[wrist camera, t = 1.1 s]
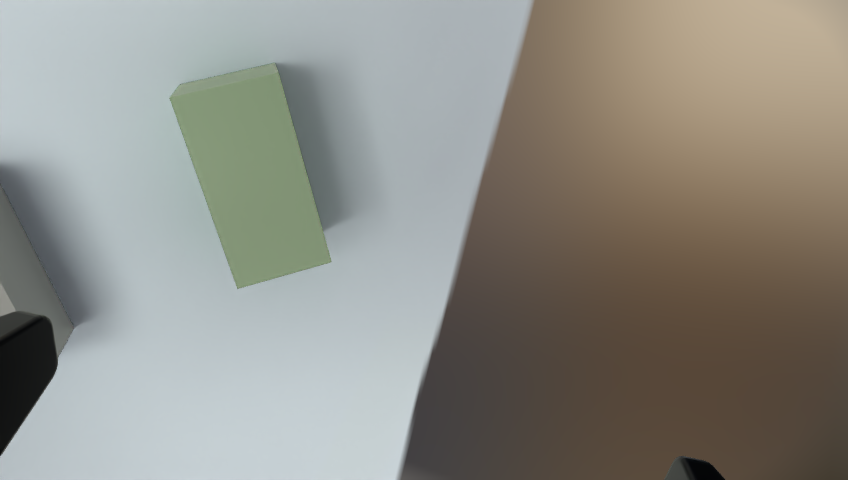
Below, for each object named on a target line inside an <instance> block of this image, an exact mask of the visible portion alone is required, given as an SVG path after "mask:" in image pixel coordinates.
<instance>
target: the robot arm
mask: <svg viewBox="0 0 848 480" xmlns="http://www.w3.org/2000/svg"><path fill="white" fill-rule="evenodd" d="M57 365H58V356H57V349H56V343H55V336H54V330H53V324H52V321H51V320H50V319H49V317H47V316H45V315H42V314H37V313H33V312H28V311H21V310H20V311H15V312H11V313H8V314H5V315H2V316H0V456H1V455H2V453H3V452H4V450H5V449H6V447H7V446H8V444H9V443H10V441H11V440H12V438H13V437H14V435H15V434H16V432H17V431H18V429H19V428H20V426H21V425H22V423H23V422H24V420H25V419H26V417H27V416H28V414H29V413H30V411H31V410H32V408H33V407H34V405H35V404H36V402H37V401H38V399H39V398H40V396H41V395H42V393H43V392H44V390H45V389H46V387H47V386H48V384H49V383H50V381H51V380H52V378H53V376H54V375H55V372H56V369H57ZM664 480H725V479H724V478H723V477H722V475H721V474H720V473H719V472H718V471H717V470H716V469H715V467H714V466H713V465H711V464H710V463H709V462H706V461H704V460H699V459H695V458H690V457H685V456H679V457H677V458H676V459H675V460H674V462H673V463H672V465H671V467H670V469H669V471H668V473H667V475H666V477H665V479H664Z"/></svg>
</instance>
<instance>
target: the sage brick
mask: <svg viewBox="0 0 848 480" xmlns="http://www.w3.org/2000/svg"><path fill="white" fill-rule="evenodd" d="M170 101H171V103H172V106H173V109H174V112H175V115H176V117H177V120H178V123H179V126H180V129H181V131H182V134H183V137H184V140H185V143H186V146H187V148H188V151H189V154H190V157H191V160H192V162H193V165H194V168H195V171H196V174H197V176H198V179H199V182H200V185H201V188H202V190H203V193H204V196H205V199H206V202H207V205H208V207H209V210H210V213H211V216H212V219H213V221H214V224H215V227H216V230H217V233H218V235H219V238H220V241H221V244H222V247H223V250H224V252H225V255H226V258H227V261H228V264H229V266H230V269H231V272H232V275H233V278H234V280H235V283H236V286H237V289H239V288H242V287H246V286H249V285H253V284H256V283H260V282H263V281H267V280H270V279H274V278H277V277H281V276H284V275H288V274H292V273H295V272H299V271H302V270H306V269H309V268H313V267H316V266H320V265H323V264H327V263H330V262H331V258H330V254H329V251H328V247H327V244H326V240H325V237H324V233H323V229H322V226H321V222H320V219H319V215H318V212H317V208H316V204H315V201H314V197H313V194H312V190H311V187H310V183H309V179H308V176H307V172H306V169H305V165H304V162H303V158H302V154H301V151H300V147H299V144H298V140H297V137H296V133H295V129H294V126H293V122H292V119H291V115H290V112H289V108H288V104H287V101H286V97H285V94H284V90H283V87H282V83H281V79H280V76H279V72H278V70H277V67H276V65H275V63H271V64H267V65H263V66H258V67H254V68H249V69H245V70H241V71H236V72H232V73H227V74H223V75H219V76H214V77H210V78H205V79H201V80H197V81H192V82H188V83H184V84H180V85H179V86H178V87H177V89H176V90H175V91H174V93H173V94H172V95H171V96H170Z"/></svg>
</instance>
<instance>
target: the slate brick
mask: <svg viewBox="0 0 848 480" xmlns="http://www.w3.org/2000/svg"><path fill="white" fill-rule="evenodd" d="M20 310H21V311H28V312H33V313H37V314H42V315H45V316H47V317H49V319H50V320H51V321H52V324H53V330H54V336H55V343H56V349H57V356H58V357H59V355H60V354H61V352H62V350H63V348H64V346H65V344H66V342H67V340H68V339H69V337H70V335H71V333H72V331H73V329H74V327H73V325H72V323H71V321H70V319H69V317H68V315H67V313H66V311H65V309H64V307H63V305H62V303H61V301H60V299H59V297H58V295H57V294H56V292H55V290H54V288H53V286H52V284H51V282H50V280H49V278H48V276H47V274H46V272H45V270H44V268H43V266H42V264H41V262H40V260H39V258H38V256H37V254H36V253H35V251H34V249H33V247H32V245H31V243H30V241H29V239H28V237H27V235H26V233H25V231H24V229H23V227H22V225H21V223H20V221H19V219H18V217H17V215H16V214H15V212H14V210H13V208H12V206H11V204H10V202H9V200H8V198H7V196H6V194H5V192H4V190H3V188H2V186H1V184H0V316H2V315H5V314H8V313H11V312H15V311H20Z"/></svg>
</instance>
